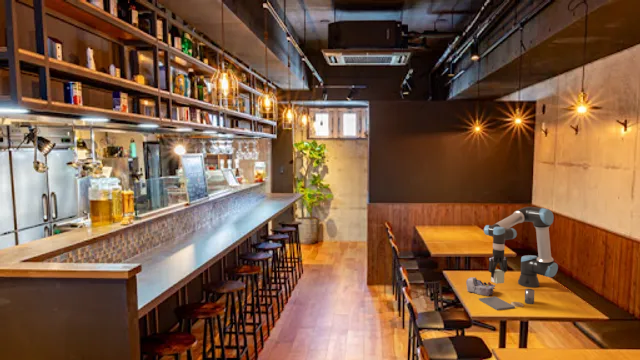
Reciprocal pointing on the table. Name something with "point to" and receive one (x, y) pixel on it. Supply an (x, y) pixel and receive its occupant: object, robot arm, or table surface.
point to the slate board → (496, 303)
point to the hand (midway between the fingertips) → (497, 281)
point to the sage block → (499, 276)
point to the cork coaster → (517, 304)
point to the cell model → (479, 286)
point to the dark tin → (529, 296)
